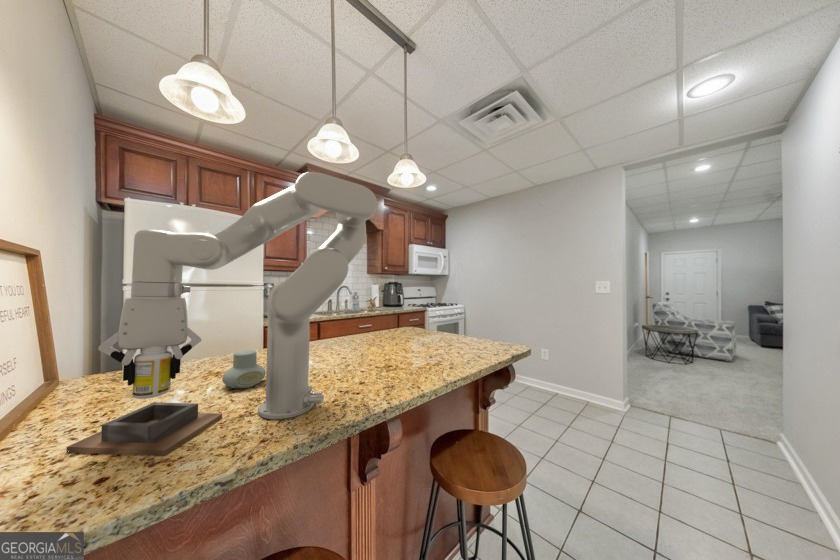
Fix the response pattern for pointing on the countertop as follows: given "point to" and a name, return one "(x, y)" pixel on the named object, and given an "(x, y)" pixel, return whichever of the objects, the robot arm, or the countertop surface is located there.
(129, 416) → the tray
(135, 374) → the supplement bottle
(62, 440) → the countertop surface
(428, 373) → the countertop surface
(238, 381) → the air freshener
